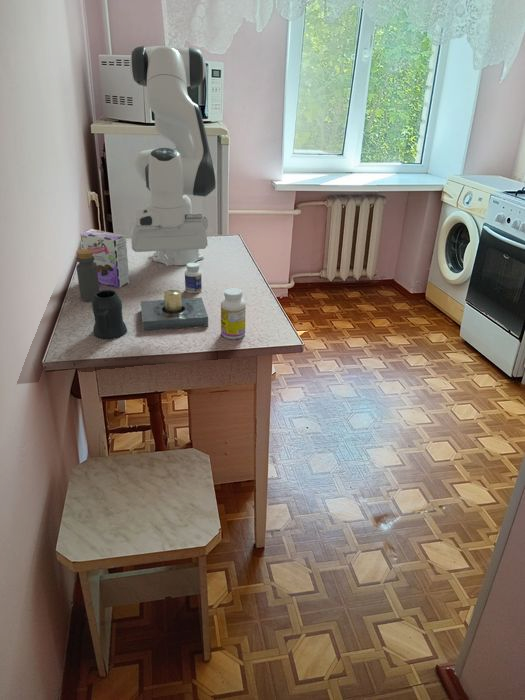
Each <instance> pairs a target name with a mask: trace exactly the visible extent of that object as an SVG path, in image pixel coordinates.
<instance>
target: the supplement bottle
mask: <svg viewBox="0 0 525 700" xmlns="http://www.w3.org/2000/svg"><path fill="white" fill-rule="evenodd" d="M223 294H224V298H223V299H222V300H221V301H220V334H221V336H222V337H223V338H225V339H227V340H238V339H242V338H243V337H245V335H246V310H247V309H246V305H247V303H246V300H245V299H243V291H242V290H241V289H240V288H236V287H232V288H227V289H225V290H224V292H223Z"/></svg>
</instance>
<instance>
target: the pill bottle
mask: <svg viewBox="0 0 525 700" xmlns="http://www.w3.org/2000/svg"><path fill="white" fill-rule="evenodd" d="M202 284H203V283H202V271H201V270H200V264H199V263H198V262H194V263H188V264H187V265H186V270H185V271H184V285H185V287H184V288H185V291H186V293H188V294H199V293H200V292H202V288H203V287H202Z"/></svg>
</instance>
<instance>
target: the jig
mask: <svg viewBox="0 0 525 700" xmlns="http://www.w3.org/2000/svg"><path fill="white" fill-rule="evenodd" d="M181 300H182V312H180V313H177V314H169V313H165V301H164V299H156V300H155V299H154V300H141V301H140V308H141V309H140V310H141V322H142V332H153V331H167V330H179V329H180V330H181V329H195V328H209V316H208V313H207V309H206V306H205V303H204V300H203V298H202V297H191V298H190V297H189V298H188V297H187V298H181Z"/></svg>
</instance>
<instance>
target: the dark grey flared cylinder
mask: <svg viewBox="0 0 525 700" xmlns="http://www.w3.org/2000/svg"><path fill="white" fill-rule="evenodd" d="M91 308H92V313H93V318H94V325H93V331H92V335H93V334H94V335H93V336H94V337H95V336H96V337H95V338H97V337H98V338H97V339H99V338H101V340H114V338H116V339H119V338H121V336H122V337H124V336H125V335H126V334H128V327H127V325H126V323H125V321H124V317H123V306H122V299H121V298H120V296H118V293H117V292H116V290H114V289H113V290H112V289H102V290H100V291H98V292H96V293H95V296H94V299H93V301H91Z"/></svg>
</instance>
